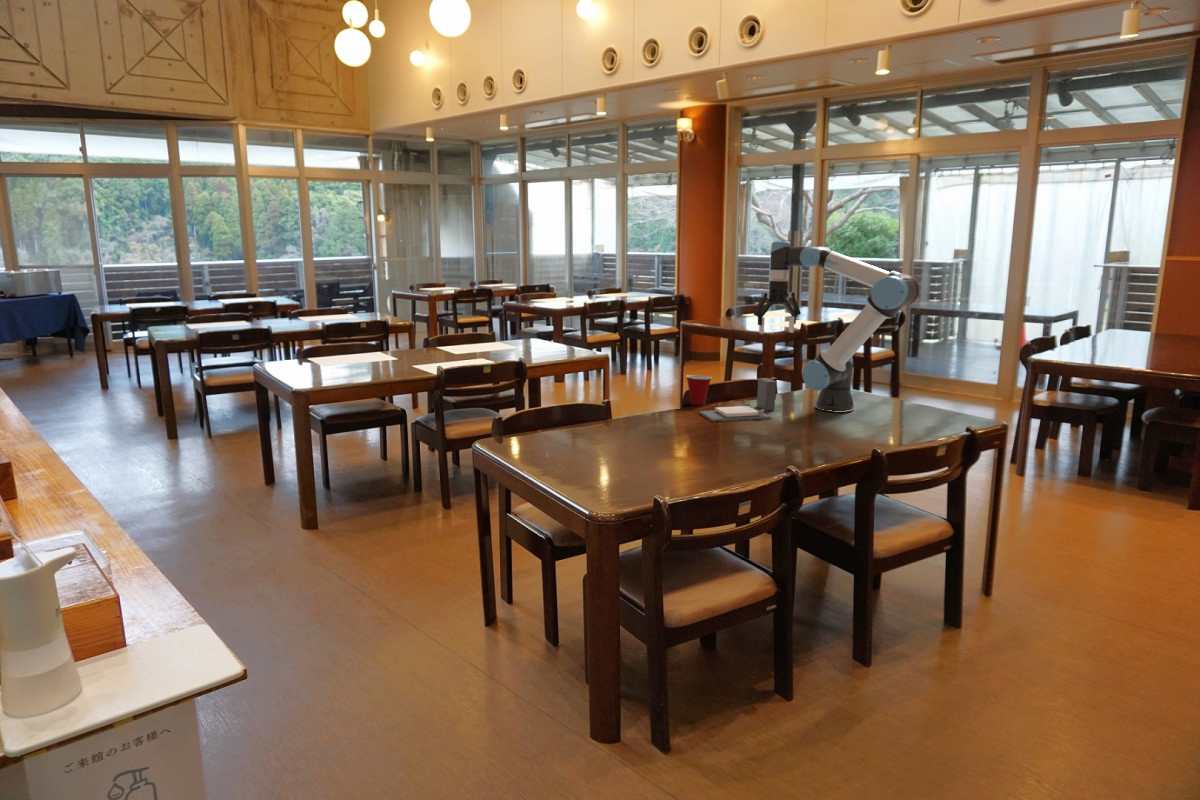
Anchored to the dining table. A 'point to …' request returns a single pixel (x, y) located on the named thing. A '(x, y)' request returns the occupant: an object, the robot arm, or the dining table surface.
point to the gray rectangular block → (766, 393)
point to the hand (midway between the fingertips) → (776, 332)
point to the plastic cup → (698, 388)
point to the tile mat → (719, 417)
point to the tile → (737, 411)
